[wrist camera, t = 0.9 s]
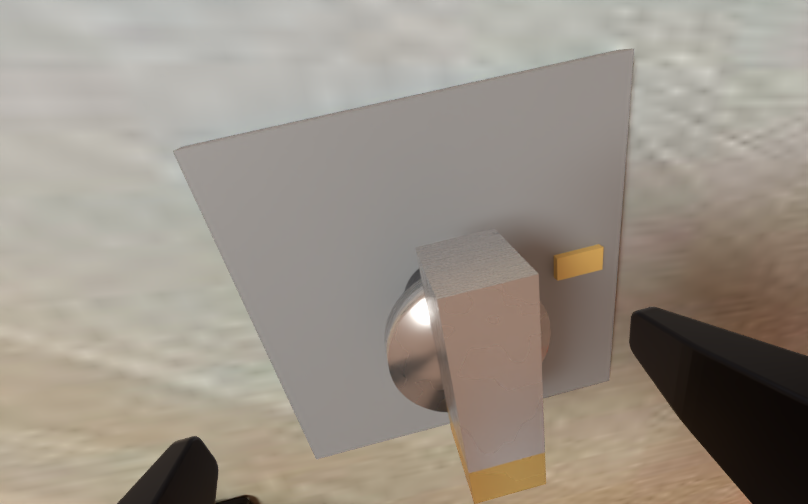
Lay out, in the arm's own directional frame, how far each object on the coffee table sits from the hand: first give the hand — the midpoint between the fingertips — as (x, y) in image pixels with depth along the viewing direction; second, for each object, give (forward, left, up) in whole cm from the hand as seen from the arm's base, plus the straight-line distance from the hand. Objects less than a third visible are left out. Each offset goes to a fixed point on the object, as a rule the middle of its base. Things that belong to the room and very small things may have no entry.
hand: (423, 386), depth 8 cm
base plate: (-6, -2, -12) cm, 14 cm away
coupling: (-5, -2, -8) cm, 10 cm away
